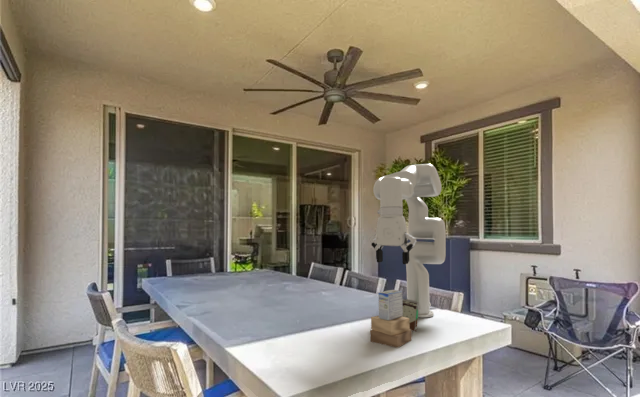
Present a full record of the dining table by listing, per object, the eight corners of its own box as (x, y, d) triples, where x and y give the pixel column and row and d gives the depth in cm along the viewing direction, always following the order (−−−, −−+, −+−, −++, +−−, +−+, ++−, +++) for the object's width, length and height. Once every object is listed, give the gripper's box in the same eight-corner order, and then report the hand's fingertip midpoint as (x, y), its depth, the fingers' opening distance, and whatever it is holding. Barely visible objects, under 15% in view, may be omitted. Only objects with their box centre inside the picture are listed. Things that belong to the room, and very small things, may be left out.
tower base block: (385, 335, 128) (385, 324, 128) (411, 341, 121) (411, 329, 122) (370, 342, 120) (370, 330, 120) (397, 349, 114) (397, 336, 114)
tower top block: (389, 324, 127) (389, 313, 128) (409, 330, 120) (409, 318, 120) (371, 329, 122) (371, 317, 122) (391, 335, 115) (391, 322, 115)
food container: (426, 329, 134) (426, 301, 135) (418, 332, 130) (418, 304, 131) (397, 323, 143) (397, 297, 144) (389, 326, 138) (389, 299, 139)
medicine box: (392, 314, 126) (391, 289, 126) (403, 316, 122) (402, 290, 123) (378, 318, 120) (377, 292, 121) (389, 321, 117) (388, 294, 118)
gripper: (364, 213, 126) (364, 262, 125) (410, 211, 116) (411, 265, 114) (374, 213, 132) (375, 260, 131) (419, 212, 122) (421, 263, 120)
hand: (392, 262), depth 123 cm, fingers open, 9 cm apart
